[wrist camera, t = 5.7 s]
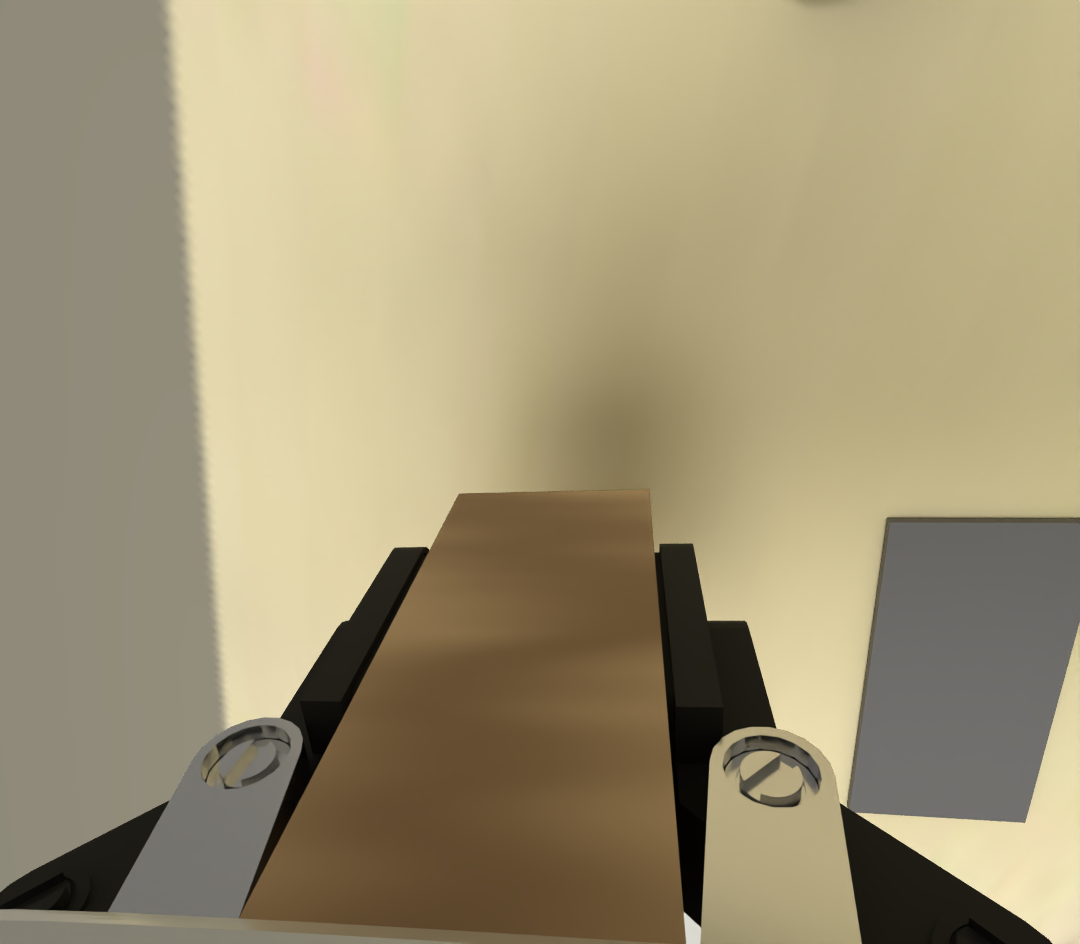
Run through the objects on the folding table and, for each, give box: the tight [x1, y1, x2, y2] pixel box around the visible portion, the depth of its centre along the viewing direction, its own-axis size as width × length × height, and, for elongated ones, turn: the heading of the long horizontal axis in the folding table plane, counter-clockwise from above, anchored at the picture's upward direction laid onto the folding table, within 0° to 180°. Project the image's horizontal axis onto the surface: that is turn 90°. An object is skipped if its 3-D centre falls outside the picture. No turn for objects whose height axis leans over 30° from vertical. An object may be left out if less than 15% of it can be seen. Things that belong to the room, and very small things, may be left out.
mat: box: [847, 518, 1080, 823], centre depth 32 cm, size 8×16×1 cm, turn 4°
